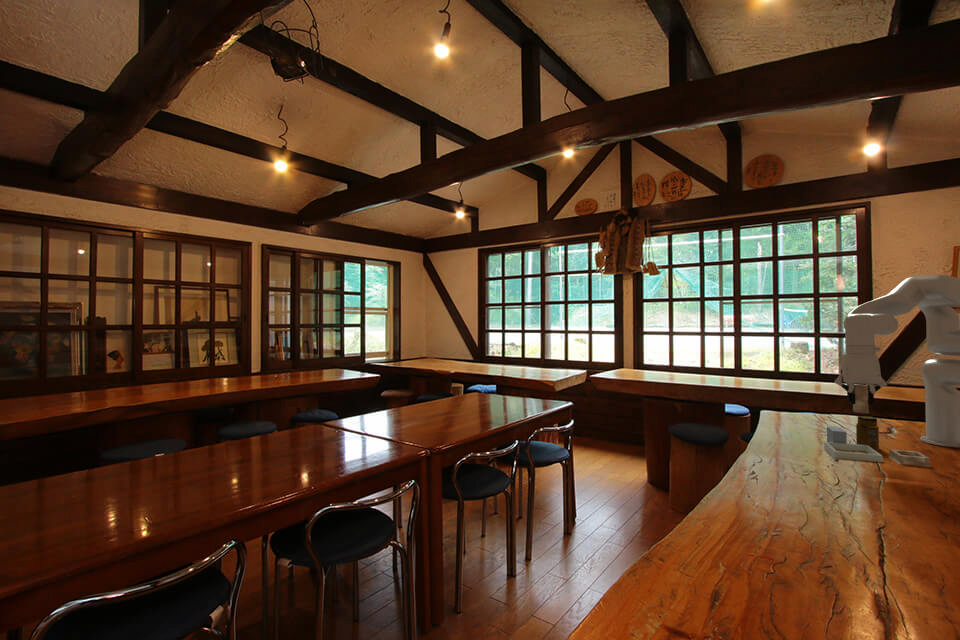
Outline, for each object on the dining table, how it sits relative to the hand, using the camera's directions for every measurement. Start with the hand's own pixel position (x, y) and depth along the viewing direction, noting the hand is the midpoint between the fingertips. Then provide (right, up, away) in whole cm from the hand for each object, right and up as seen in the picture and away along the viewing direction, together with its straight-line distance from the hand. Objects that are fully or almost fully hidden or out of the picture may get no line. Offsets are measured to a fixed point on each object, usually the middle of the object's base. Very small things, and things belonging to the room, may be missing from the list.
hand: (860, 403), depth 148 cm
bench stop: (+2, -19, +12) cm, 22 cm away
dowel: (0, -3, 0) cm, 3 cm away
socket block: (+10, -19, -7) cm, 22 cm away
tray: (-1, -19, +2) cm, 19 cm away
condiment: (+10, -19, +8) cm, 23 cm away
